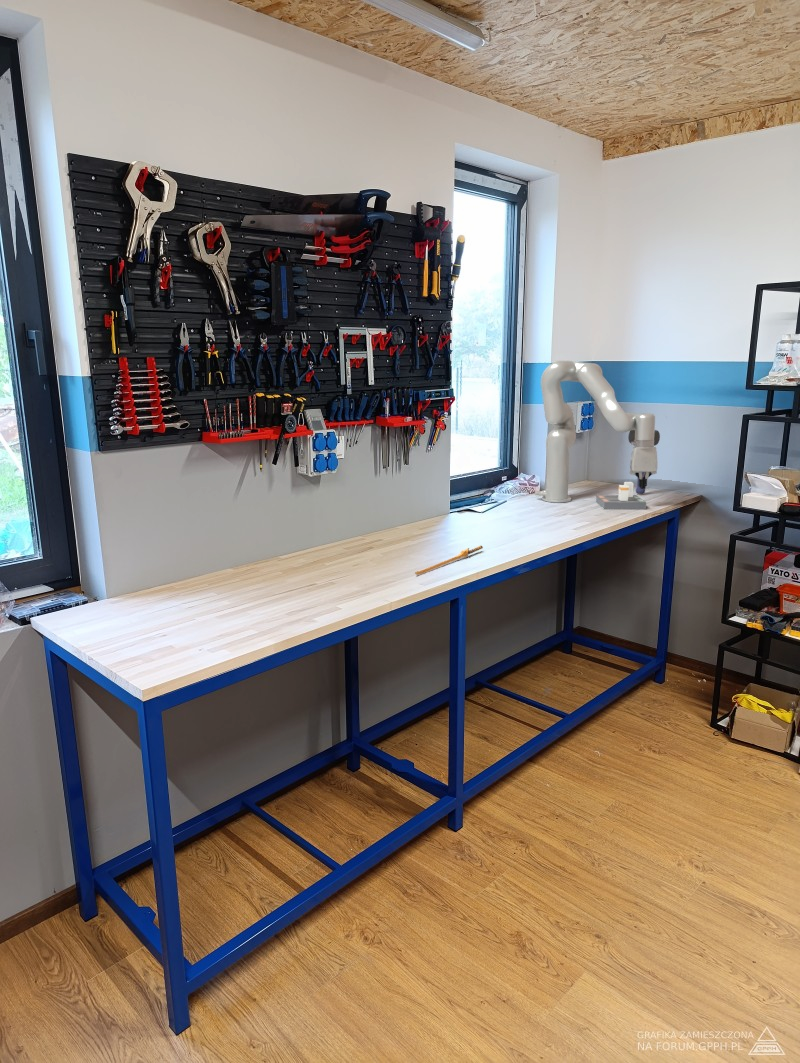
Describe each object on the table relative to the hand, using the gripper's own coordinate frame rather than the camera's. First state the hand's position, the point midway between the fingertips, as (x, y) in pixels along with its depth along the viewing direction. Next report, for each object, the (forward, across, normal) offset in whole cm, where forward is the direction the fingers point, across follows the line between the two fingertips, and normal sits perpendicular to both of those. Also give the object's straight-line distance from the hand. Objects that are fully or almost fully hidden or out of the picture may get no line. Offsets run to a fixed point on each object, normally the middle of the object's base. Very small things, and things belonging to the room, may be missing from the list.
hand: (642, 488), depth 299 cm
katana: (+8, -80, -87) cm, 118 cm away
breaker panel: (+8, -8, +4) cm, 12 cm away
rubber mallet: (+8, +7, +30) cm, 32 cm away
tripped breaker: (+5, -8, 0) cm, 9 cm away
